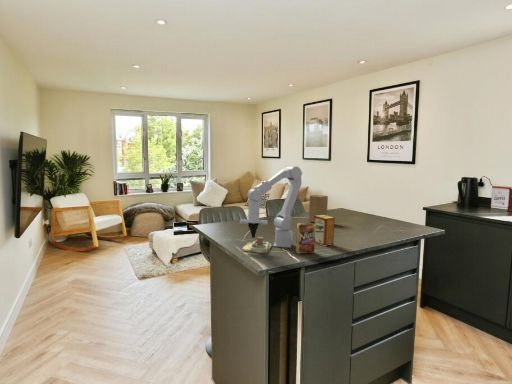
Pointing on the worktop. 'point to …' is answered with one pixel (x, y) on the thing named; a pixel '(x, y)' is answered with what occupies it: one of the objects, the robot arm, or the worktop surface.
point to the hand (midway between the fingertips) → (253, 237)
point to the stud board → (249, 244)
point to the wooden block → (317, 206)
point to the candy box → (305, 238)
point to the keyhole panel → (260, 244)
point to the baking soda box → (324, 229)
